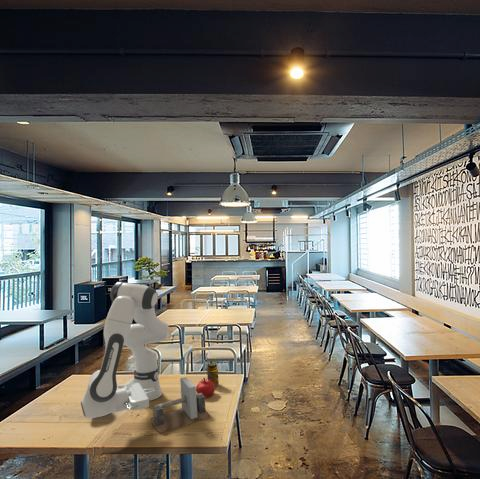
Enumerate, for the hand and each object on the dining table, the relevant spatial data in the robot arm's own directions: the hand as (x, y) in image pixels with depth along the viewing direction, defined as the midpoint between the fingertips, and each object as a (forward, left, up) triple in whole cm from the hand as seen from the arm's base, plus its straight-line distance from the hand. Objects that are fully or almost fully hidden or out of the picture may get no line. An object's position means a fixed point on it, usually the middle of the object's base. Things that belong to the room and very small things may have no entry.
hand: (154, 391), depth 159 cm
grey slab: (+10, +12, -14) cm, 21 cm away
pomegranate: (+7, +33, -16) cm, 37 cm away
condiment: (+5, +44, -16) cm, 47 cm away
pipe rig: (+7, +8, -15) cm, 19 cm away
